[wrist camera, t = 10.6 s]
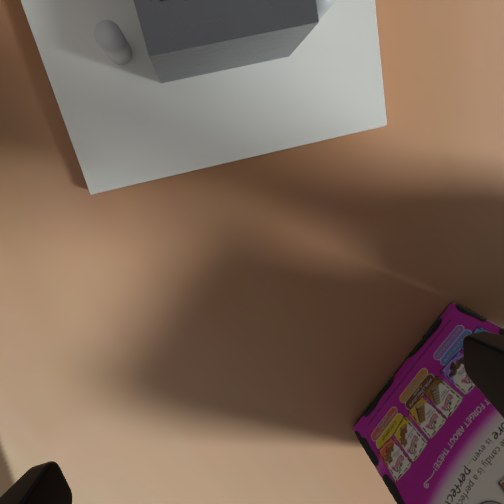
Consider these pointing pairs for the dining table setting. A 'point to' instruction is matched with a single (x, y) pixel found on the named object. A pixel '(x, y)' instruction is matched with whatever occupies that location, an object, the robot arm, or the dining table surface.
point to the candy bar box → (437, 423)
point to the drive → (221, 33)
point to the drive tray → (201, 92)
